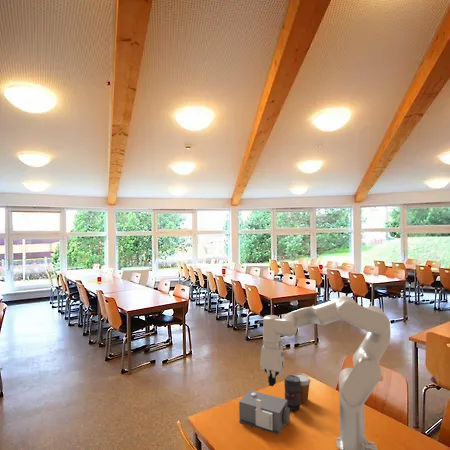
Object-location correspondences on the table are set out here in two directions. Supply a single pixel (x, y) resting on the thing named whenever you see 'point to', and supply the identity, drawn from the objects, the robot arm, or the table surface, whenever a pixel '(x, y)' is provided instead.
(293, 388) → the camera lens
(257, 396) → the housing
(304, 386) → the disposable coffee cup
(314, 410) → the table surface
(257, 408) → the hatch
